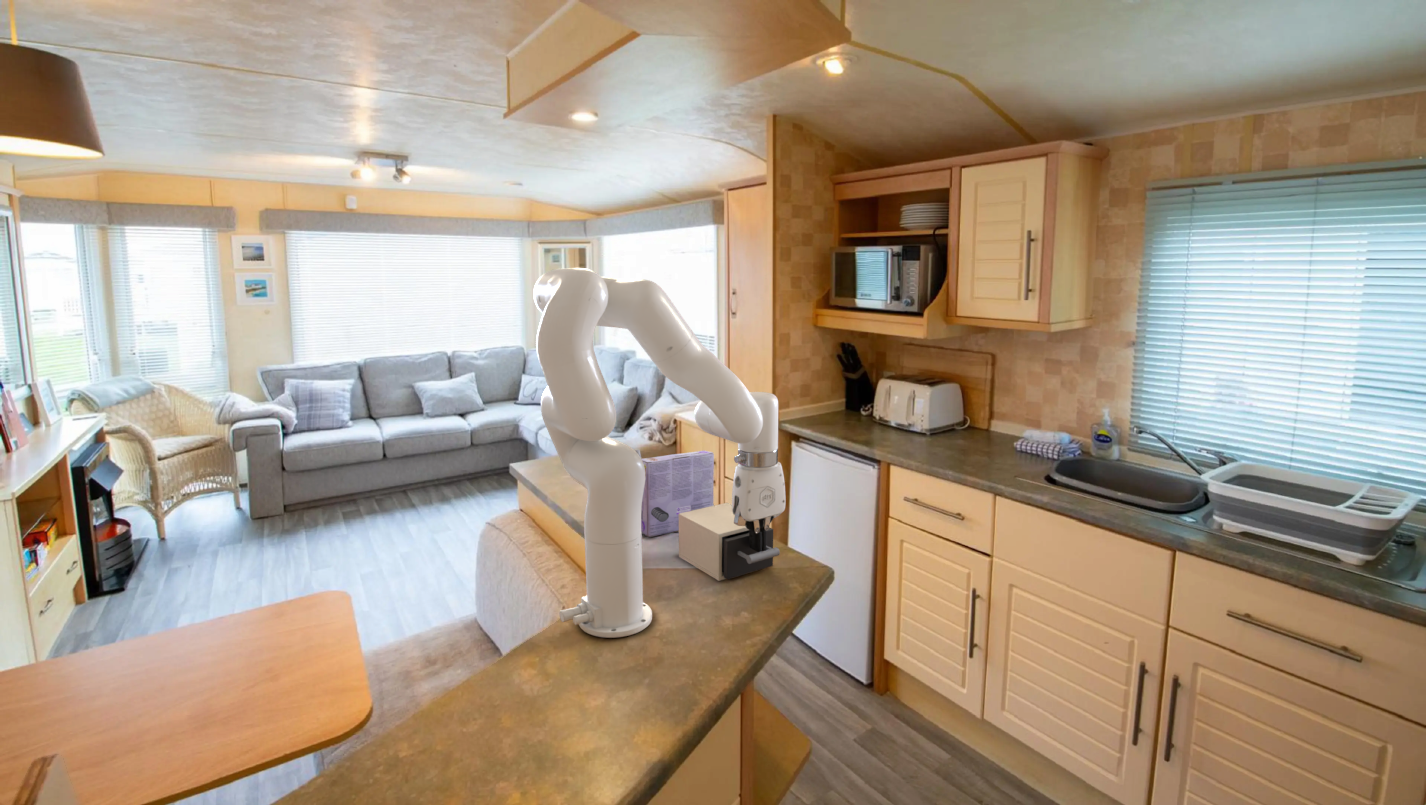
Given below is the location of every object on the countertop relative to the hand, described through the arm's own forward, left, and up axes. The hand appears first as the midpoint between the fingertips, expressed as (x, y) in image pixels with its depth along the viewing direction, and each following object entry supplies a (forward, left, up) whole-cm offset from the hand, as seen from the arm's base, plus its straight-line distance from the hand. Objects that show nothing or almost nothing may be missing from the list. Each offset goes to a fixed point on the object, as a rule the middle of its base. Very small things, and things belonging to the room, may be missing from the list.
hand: (757, 548), depth 135 cm
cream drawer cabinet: (0, +11, -6) cm, 13 cm away
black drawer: (0, +6, -5) cm, 8 cm away
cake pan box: (+3, +33, -7) cm, 34 cm away
